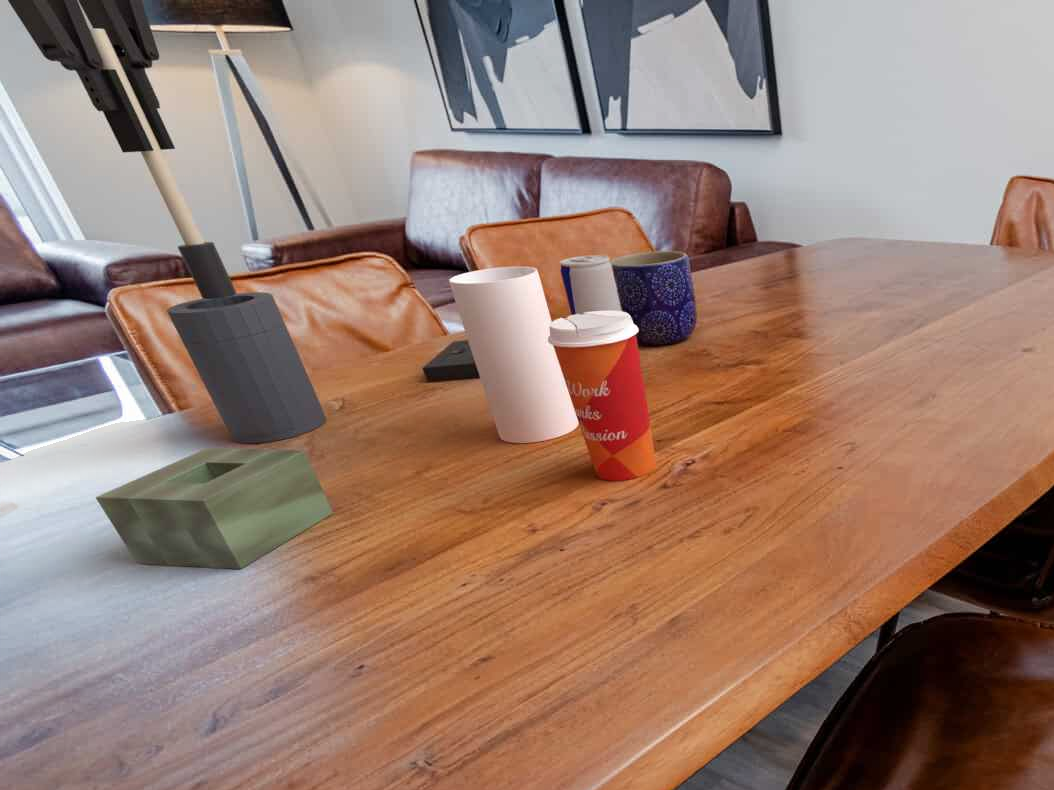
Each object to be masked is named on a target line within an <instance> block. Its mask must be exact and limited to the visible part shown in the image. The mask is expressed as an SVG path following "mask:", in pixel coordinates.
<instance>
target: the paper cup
mask: <svg viewBox="0 0 1054 790" xmlns="http://www.w3.org/2000/svg"><path fill="white" fill-rule="evenodd" d="M549 328H550V336H549V337H548V343H550V344H551V345H553V347H554V350H555V353H556V356H557V359H558V362H559V365H560V368H561V371H562V374H563V377H564V380H565V383H566V386H567V389H568V392H569V395H570V398H571V401H572V404H573V407H574V410H575V413H576V416H577V419H578V422H579V424H578V426H579V428H580V432H581V434H582V437H583V440H584V443H585V446H586V448H587V451H588V454H589V457H590V460H591V463H592V466H593V469H594V471H595V473H596V475H597V477H598V478H599V479H601V480H605V481H611V482H612V481H614V482H618V481H620V482H621V481H627V480H633V479H638V478H640V477H643V476H645V475H647V474H649V473H651V472H653V470H655V468H656V467H657V466H656V465H657V463H656V455H655V447H654V440H653V439H654V438H653V433H652V427H651V420H650V414H649V408H648V403H647V402H648V401H647V394H646V387H645V383H644V376H643V370H642V365H641V358H640V351H639V346H638V345H639V344H638V342H637V338H636V333H638V331H639V329H638V327H637V326H636V325H635V324H633V321H632V318H631V316H630V315H629V314H628V313H626V312H622V311H592V312H584V313H583V314H582V315H580V314H575V315H572V314H571V315H567V316H566V318H564V317H559V318H557V319H554V320H553V321H552V322H551V323H550V326H549Z"/></svg>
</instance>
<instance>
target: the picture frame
mask: <svg viewBox="0 0 1054 790" xmlns="http://www.w3.org/2000/svg"><path fill="white" fill-rule="evenodd" d="M422 371H423V373H424V376H425V379H426V382H427V383H435V382H446V381H455V380H456V381H457V380H467V379H468V380H469V379H480V376H479V373H478V370H477V366H476V363H475V360H474V357H473V354H472V351H471V348H470V345H469V342H468V339H466V340H465V339H464V340H454V341H452V342H451V343H450V344H448V345H447V346H446V347H445V348H444V349H443V350H442V351H440V352H439V353H438V354H436V356H434V357H433V358H432V359H431V360H429V362H428V363H426V364H425V365H424V366H423V367H422Z"/></svg>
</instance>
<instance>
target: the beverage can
mask: <svg viewBox="0 0 1054 790" xmlns="http://www.w3.org/2000/svg"><path fill="white" fill-rule="evenodd" d="M609 261H610V257H609V256H608V255H600V254H598V255H595V254H593V255H592V254H591V255H581V256H574V257H568V258H565V259H562V260H560V261H559V265H560V273H561V274H560V275H561V278H562V282H563V287H564V290H565V294H566V298H567V301H568V306H569V309H570V314H571V315H575V314H580V315H582V314H583V313H584V312H592V311H622V310H621V305H620V301H619V296H618V292H617V287H616V283H615V278H614V274H613V269H612V265H611V263H610V262H609Z"/></svg>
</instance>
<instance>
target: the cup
mask: <svg viewBox="0 0 1054 790" xmlns="http://www.w3.org/2000/svg"><path fill="white" fill-rule="evenodd" d="M448 283H449V286H450V290H451V292H452V293H451V294H452V296H453V299H454V301H455V304H456V308H457V311H458V315H459V317H460V320H461V324H462V326H463V330H464V333H465V336H466V340H468V342H469V345H470V348H471V351H472V354H473V357H474V360H475V363H476V366H477V370H478V373H479V376H480V378H479V379H480V382H481V385H482V387H483V392H484V393H485V397H486V400H487V403H488V406H489V409H490V412H491V415H492V418H493V422H494V424H495V428H496V431H497V433H498V437H499V438H500V440H502V441H504V442H506V443H512V444H533V443H541V442H544V441H550V440H554V439H556V438H560V437H563V436H565V435H567V434H569V433H571V432H573V431H574V430H575V429H576V428H578V426H579V422H578V419H577V416H576V413H575V410H574V407H573V404H572V401H571V398H570V395H569V392H568V389H567V386H566V383H565V380H564V377H563V374H562V371H561V368H560V365H559V362H558V359H557V356H556V353H555V350H554V347H553V345H551V344H550V343H548V337H549V336H550V328H549V326H550V323H551V322H553V321H552V317H551V315H550V311H549V306H548V303H547V300H546V295H545V292H544V288H543V284H542V281H541V276H540V274H539V271H538V268H536V267H532V266H501V267H493V268H484V269H478V270H473V271H468V272H464V273H461V274H457V275H454V276H452V277H450V278H449V279H448Z"/></svg>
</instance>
